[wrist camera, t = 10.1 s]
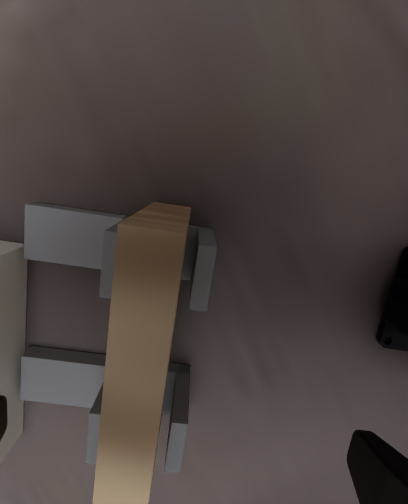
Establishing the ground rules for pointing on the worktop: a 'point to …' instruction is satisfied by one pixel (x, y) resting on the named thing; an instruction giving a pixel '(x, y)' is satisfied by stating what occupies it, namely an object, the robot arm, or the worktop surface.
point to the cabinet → (74, 362)
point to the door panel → (139, 350)
